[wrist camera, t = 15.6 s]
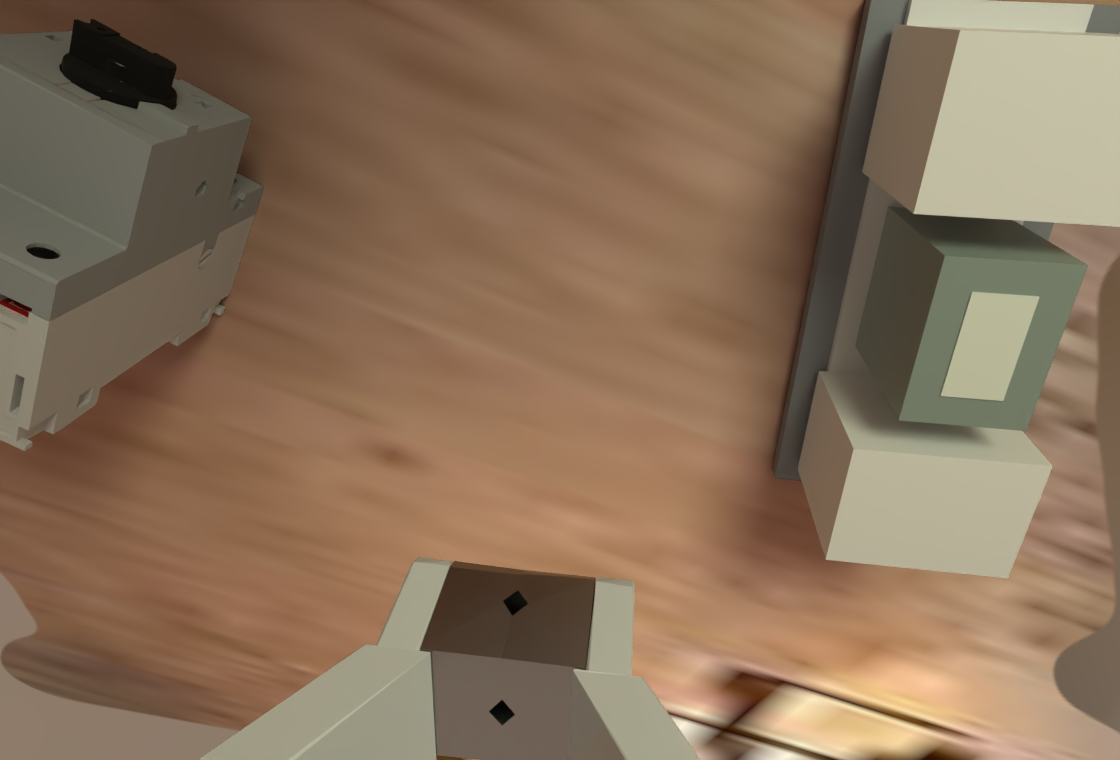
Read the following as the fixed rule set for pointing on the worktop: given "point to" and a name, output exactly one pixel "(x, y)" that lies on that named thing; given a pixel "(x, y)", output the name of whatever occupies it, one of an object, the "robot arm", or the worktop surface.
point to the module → (965, 318)
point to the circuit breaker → (106, 217)
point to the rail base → (947, 190)
